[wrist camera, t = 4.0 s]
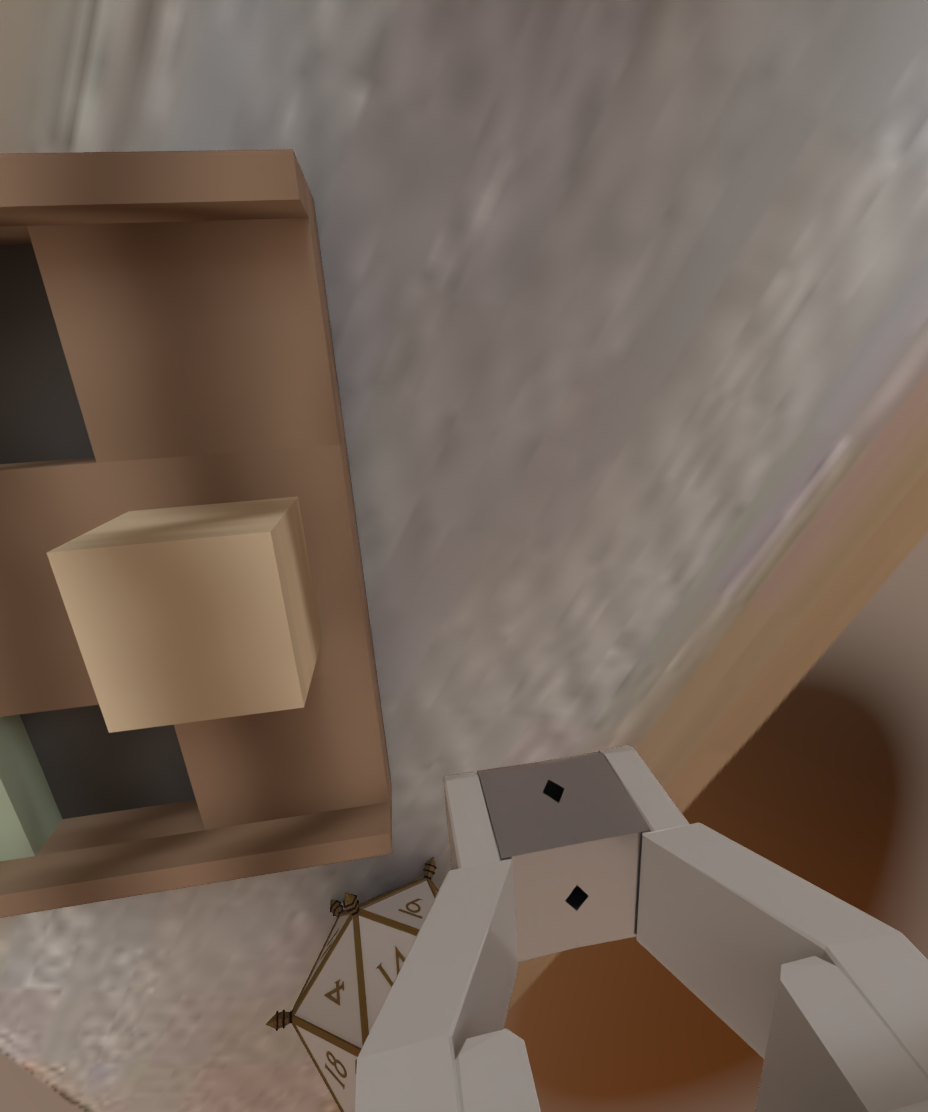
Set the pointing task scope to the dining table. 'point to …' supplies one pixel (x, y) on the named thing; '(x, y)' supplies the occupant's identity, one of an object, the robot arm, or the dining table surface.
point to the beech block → (193, 611)
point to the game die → (356, 979)
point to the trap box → (164, 482)
